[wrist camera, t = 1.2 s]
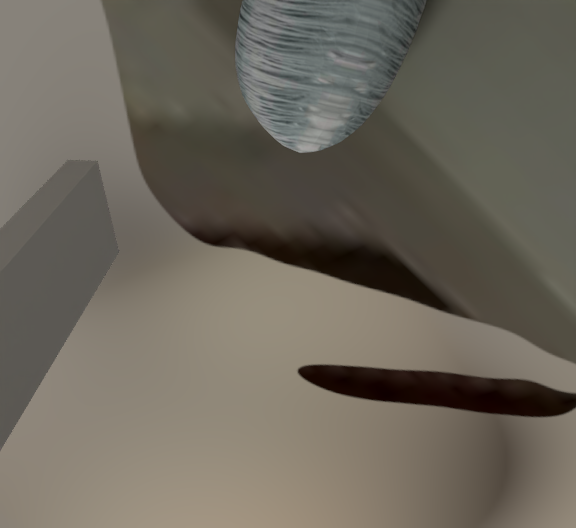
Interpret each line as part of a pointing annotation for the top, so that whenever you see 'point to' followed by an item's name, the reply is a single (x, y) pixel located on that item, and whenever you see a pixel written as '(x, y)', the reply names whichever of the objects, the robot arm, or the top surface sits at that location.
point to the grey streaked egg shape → (320, 63)
